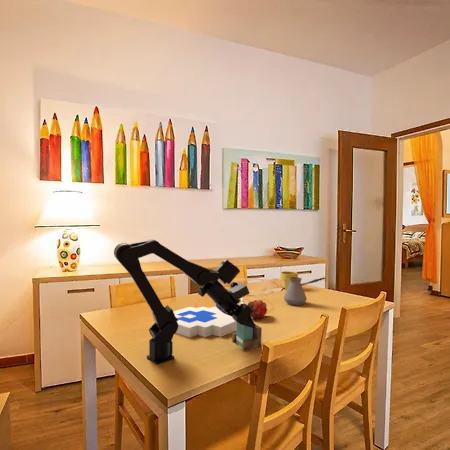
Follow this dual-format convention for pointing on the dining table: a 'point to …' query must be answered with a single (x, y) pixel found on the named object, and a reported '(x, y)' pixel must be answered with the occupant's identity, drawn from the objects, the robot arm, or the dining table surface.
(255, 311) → the dragon fruit
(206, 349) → the dining table surface
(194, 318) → the stepped white slab
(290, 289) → the coffee pot
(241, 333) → the book
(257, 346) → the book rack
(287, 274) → the plant pot
